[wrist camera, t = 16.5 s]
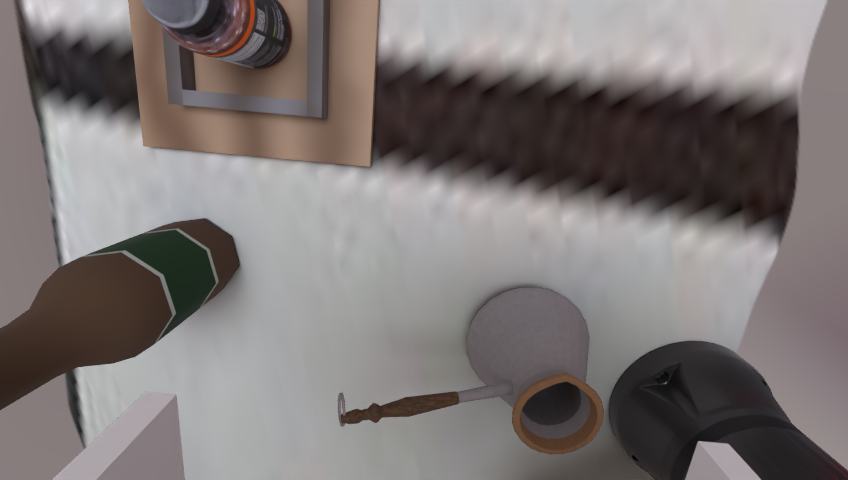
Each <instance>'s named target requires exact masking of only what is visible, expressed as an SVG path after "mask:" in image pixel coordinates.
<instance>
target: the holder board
mask: <svg viewBox="0 0 848 480" xmlns="http://www.w3.org/2000/svg"><path fill="white" fill-rule="evenodd" d="M278 1H279V2H280V4H281V5H282V6H283V8H284V10H285V11H286V13H287V15H288V18H289V22H290V26H291V40H290V44H289V47H288V50H287V52H286V54H285V55H284V56H283V58H282V59H281V60H280V61H279V62H277V63H276V64H274V65H272V66H270V67H267V68H263V69H257V68H249V67H245V66H240V65H237V64H233V63H230V62H229V63H228V62H226V61H223V60H218V59H215V58H211V57H207V56H204V55H201V54H198V53H195V52H192V51H190V50H188V49H186V48H184V47H182V46H181V45H179V44H178V43H176V42H175V41H174V40H173V39H172V38H171V37H170V36H169V35H168V34H167V33H166V32H165V31H164V29H163V28H162V26H161V24H160V23H159V22H158V21H157V20H156V19H154V18H153V17H152V16H151V15H150V14H149V13H148V11H147V10H146V9H145V7H144V5H143V3H142V1H141V0H128V2H129V12H130V21H131V31H132V41H133V50H134V60H135V70H136V79H137V89H138V98H139V108H140V118H141V127H142V137H143V146H147V147H158V148H169V149H180V150H191V151H202V152H213V153H224V154H235V155H247V156H258V157H269V158H280V159H291V160H302V161H313V162H324V163H335V164H346V165H357V166H368V167H370V166H372V146H373V126H374V106H375V87H376V67H377V47H378V27H379V7H380V0H278Z"/></svg>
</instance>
